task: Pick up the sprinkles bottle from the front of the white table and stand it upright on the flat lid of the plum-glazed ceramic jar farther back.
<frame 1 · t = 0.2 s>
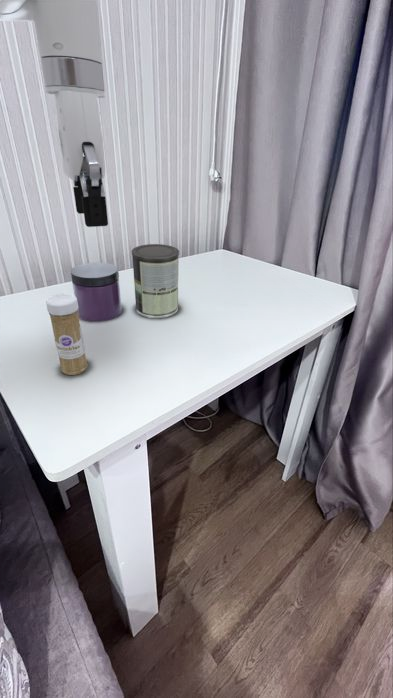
hand: (91, 219, 52), 24 cm above the table, tool pointing down, fingers open, 9 cm apart
jar: (99, 311, 77), on the table
coffee can: (157, 309, 80), on the table
sprinkles bottle: (75, 369, 59), on the table
jar lid: (94, 271, 72), point 10 cm above the table, screwed on, not yet turned
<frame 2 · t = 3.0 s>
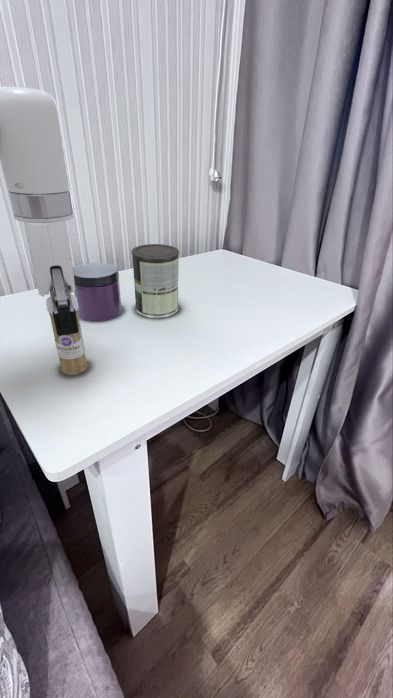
hand: (66, 324, 54), 9 cm above the table, tool pointing down, fingers closed on sprinkles bottle, 4 cm apart
sprinkles bottle: (75, 369, 59), on the table, touching gripper
everything else where it was.
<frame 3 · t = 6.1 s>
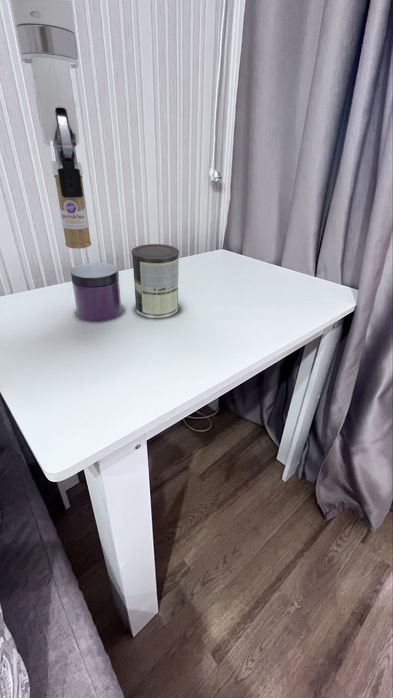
hand: (70, 193, 56), 27 cm above the table, tool pointing down, fingers closed on sprinkles bottle, 4 cm apart
sprinkles bottle: (79, 246, 60), point 18 cm above the table, touching gripper
everything else where it was.
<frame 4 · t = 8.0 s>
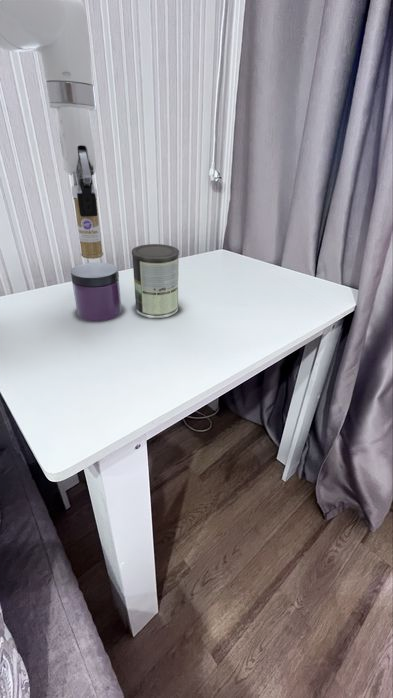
hand: (86, 212, 66), 22 cm above the table, tool pointing down, fingers closed on sprinkles bottle, 4 cm apart
sprinkles bottle: (92, 257, 70), point 13 cm above the table, touching gripper
everything else where it was.
when the fingers open (19 cm above the table, at t = 9.3 s): sprinkles bottle stays where it is, resting on jar lid.
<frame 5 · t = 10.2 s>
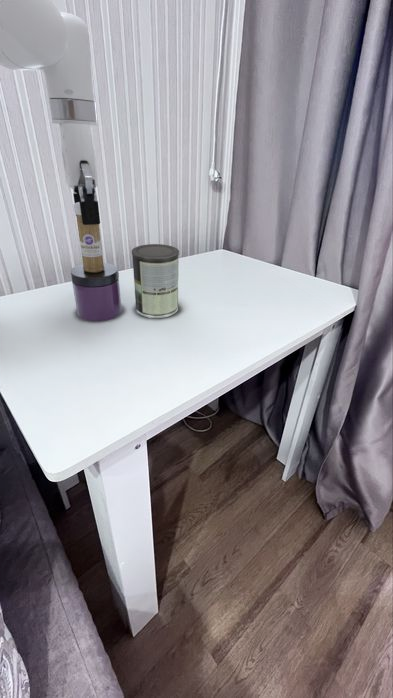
hand: (87, 218, 66), 21 cm above the table, tool pointing down, fingers open, 9 cm apart
sprinkles bottle: (94, 270, 72), point 10 cm above the table, touching jar lid
jar lid: (94, 271, 72), point 10 cm above the table, screwed on, not yet turned, touching sprinkles bottle
everything else where it was.
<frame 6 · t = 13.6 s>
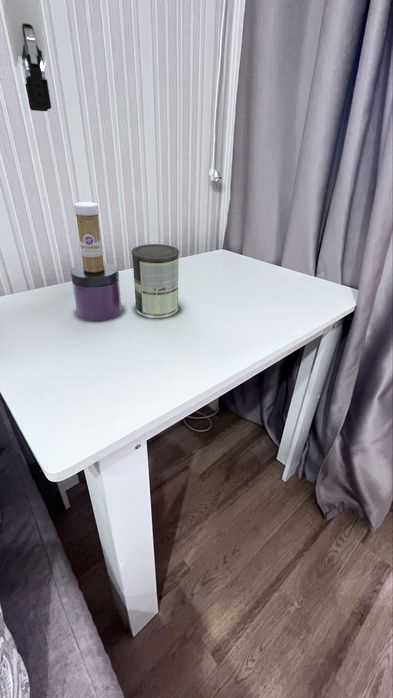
hand: (40, 109, 60), 38 cm above the table, tool pointing down, fingers open, 9 cm apart
nothing on the table moved.
at the end: sprinkles bottle 0.0 cm off-centre on the jar, point 9.9 cm above the jar's base; sprinkles bottle tilted 0°; the gripper is holding nothing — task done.
